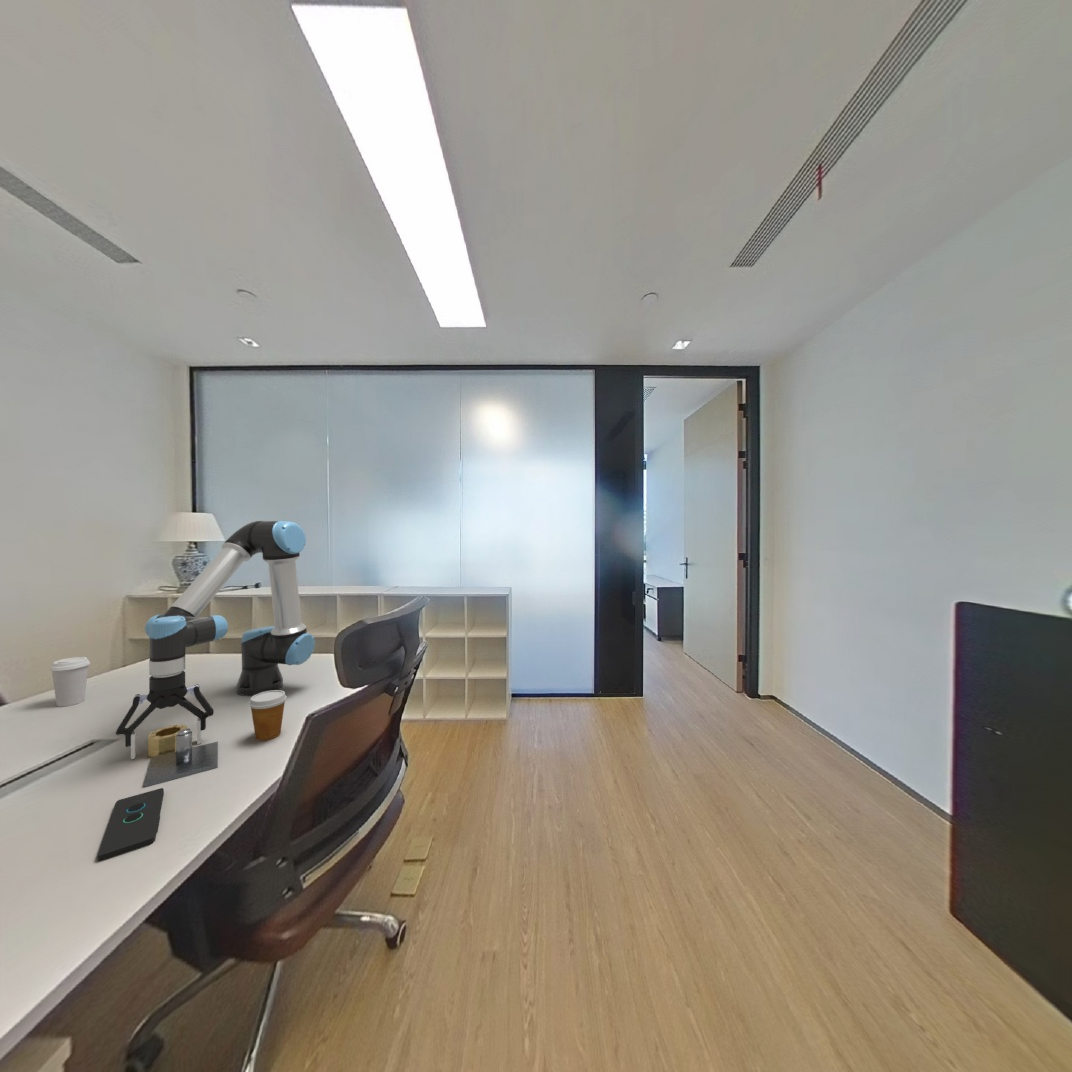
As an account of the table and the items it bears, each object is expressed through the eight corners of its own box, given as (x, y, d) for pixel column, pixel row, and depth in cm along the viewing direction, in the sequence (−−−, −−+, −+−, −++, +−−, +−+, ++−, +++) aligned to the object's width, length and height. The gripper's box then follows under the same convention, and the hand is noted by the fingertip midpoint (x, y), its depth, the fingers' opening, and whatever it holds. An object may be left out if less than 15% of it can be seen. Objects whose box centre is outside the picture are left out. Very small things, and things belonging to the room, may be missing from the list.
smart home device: (165, 786, 98) (155, 836, 82) (165, 793, 98) (155, 845, 82) (115, 800, 93) (95, 856, 77) (115, 807, 93) (95, 865, 77)
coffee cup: (44, 705, 144) (43, 662, 143) (82, 695, 153) (82, 654, 152) (58, 710, 140) (57, 666, 140) (96, 700, 149) (96, 658, 149)
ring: (187, 739, 122) (187, 722, 122) (186, 751, 116) (185, 733, 116) (150, 747, 117) (150, 730, 117) (146, 760, 111) (146, 741, 111)
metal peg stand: (217, 744, 119) (217, 714, 119) (217, 767, 108) (217, 733, 108) (151, 760, 111) (151, 728, 111) (143, 787, 100) (143, 750, 100)
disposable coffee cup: (294, 731, 128) (294, 692, 128) (264, 746, 119) (264, 704, 119) (271, 725, 131) (271, 687, 131) (241, 740, 122) (240, 699, 122)
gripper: (223, 661, 127) (223, 731, 127) (106, 678, 112) (106, 757, 112) (223, 668, 121) (223, 741, 121) (100, 687, 106) (100, 770, 106)
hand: (167, 749), depth 116 cm, fingers open, 13 cm apart
